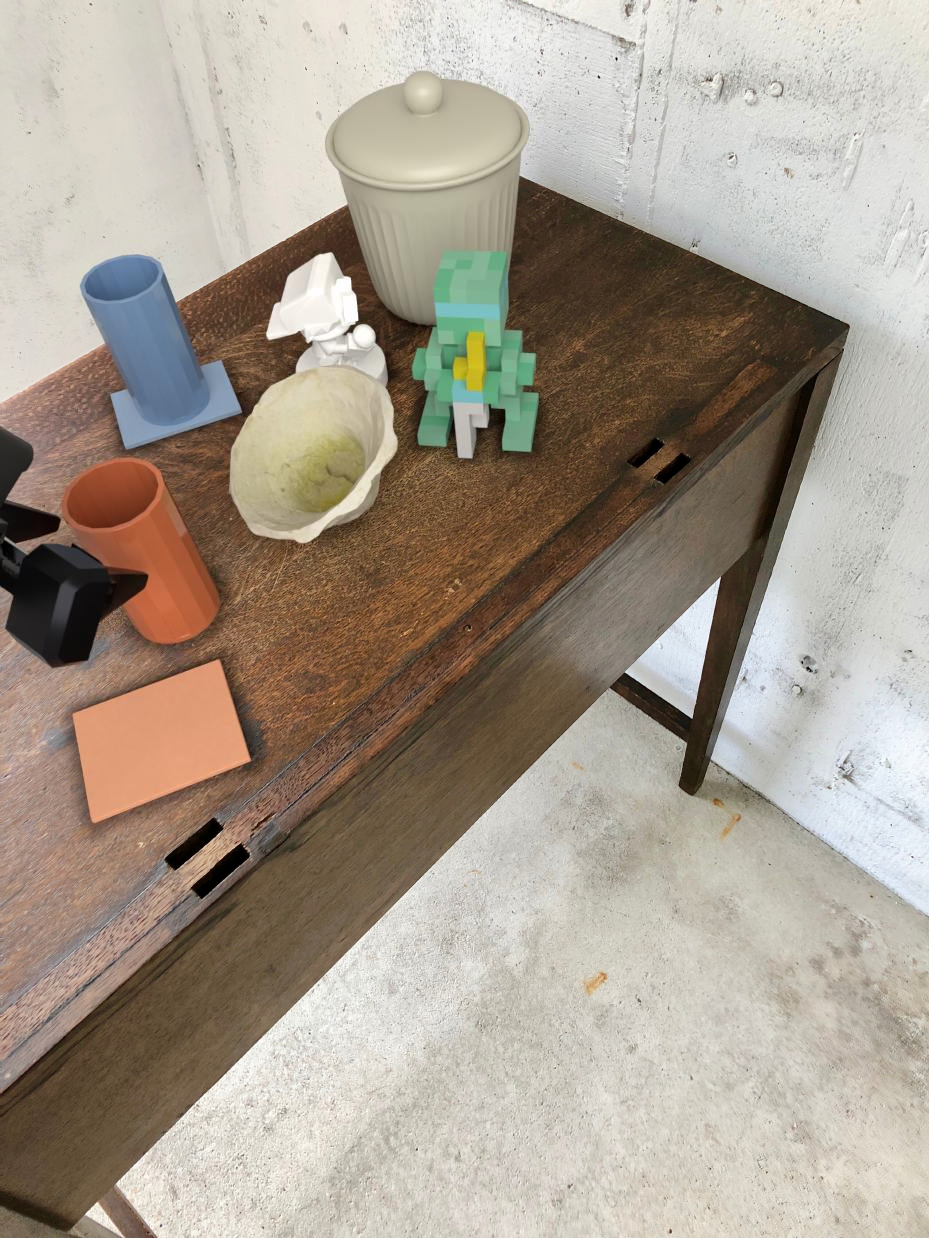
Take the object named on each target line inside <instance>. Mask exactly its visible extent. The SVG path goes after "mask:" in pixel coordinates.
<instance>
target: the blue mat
mask: <svg viewBox="0 0 929 1238" xmlns="http://www.w3.org/2000/svg"><path fill="white" fill-rule="evenodd" d="M200 367H201V369H202V372H203V375H204V377H205V380H206V382H207V385H208V388H209V391H210V400H209V403H208V404H207V406H206V408H205V409H204V410H203V411H202V412H201V413H200V414H199V415H197V416H196V417H194V418H192V419H191V420H188V421H186V422H184V423H180V424H177V425H170V426H160V425H154V424H151V423H149V422H147V421H146V420H144V419H143V418H142V417H141V415H140V414H139V412H138V411H137V408H136V406H135V404H134V402H133V400H132V398H131V396H130V394H129V392H128V390H127V388H126V389H122V390H119V391H116V392H112V393H110V394H109V395H110V399H111V402H112V403H111V404H112V406H113V410H114V414H115V417H116V421H117V424H118V427H119V432H120V435H121V439H122V442H123V445H124V448H125V450H126V451H128V450H132V449H135V448H137V447H141V446H144V445H147V444H150V443H153V442H157V441H160V440H162V439H165V438H169V437H173V436H175V435H177V434H178V435H179V434H181V433H184V432H187V431H190V430H193V429H196V428H199V427H202V426H206V425H209V424H213V423H215V422H218V421H221V420H225V419H227V418H231V417H234V416H237V415H240V414H242V413H243V410H242V407H241V405H240V402H239V400H238V397H237V395H236V393H235V390H234V388H233V386H232V382H231V380H230V377H229V375H228V373H227V371H226V368H225V366H224V364H223V361H222V359H219V360H215V361H212V362H210V363H205V364H202V365H200Z"/></svg>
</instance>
